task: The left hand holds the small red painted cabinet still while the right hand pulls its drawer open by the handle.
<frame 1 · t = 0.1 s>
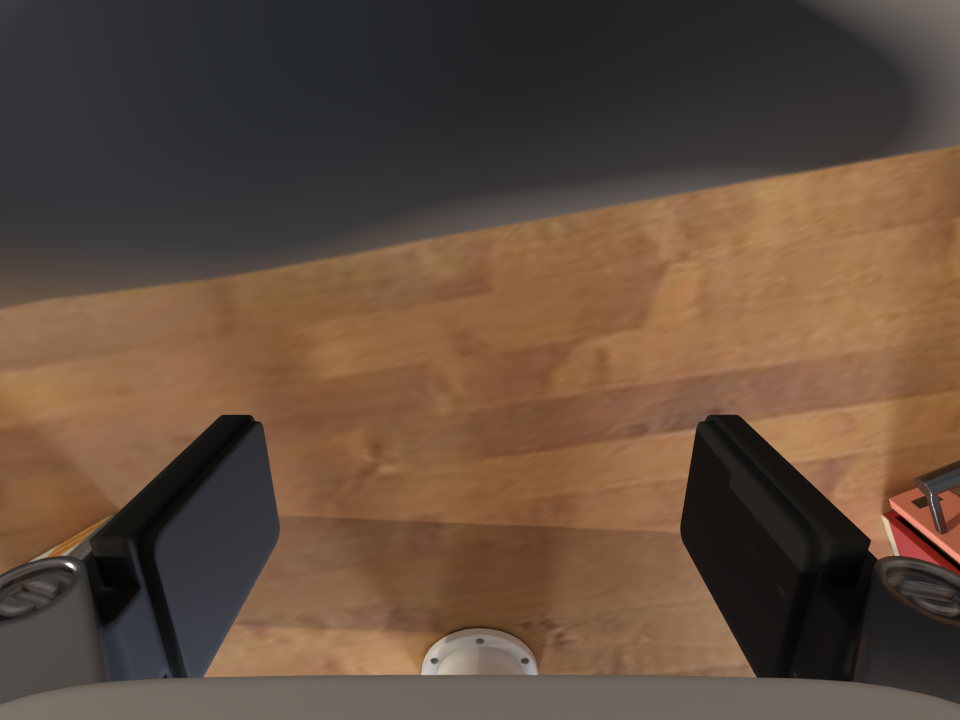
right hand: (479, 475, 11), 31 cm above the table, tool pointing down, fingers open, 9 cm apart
hard drive box: (89, 567, 51), on the table
cabinet: (933, 580, 52), on the table
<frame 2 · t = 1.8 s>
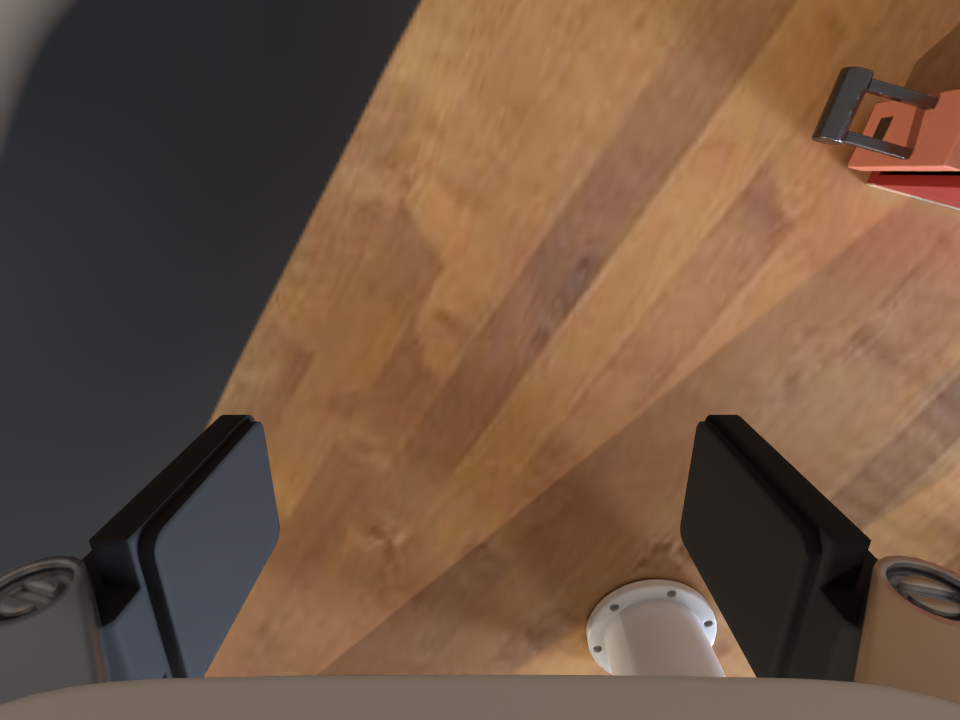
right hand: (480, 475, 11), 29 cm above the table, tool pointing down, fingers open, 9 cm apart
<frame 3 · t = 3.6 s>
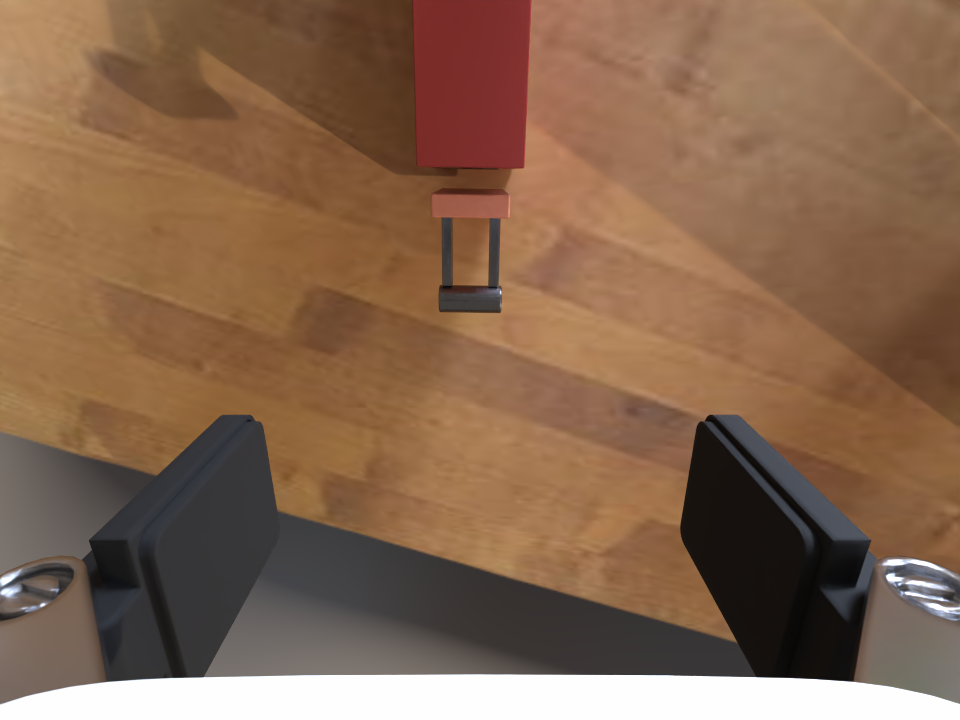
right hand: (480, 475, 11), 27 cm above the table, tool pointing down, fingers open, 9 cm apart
drawer: (472, 79, 28), point 5 cm above the table, slide at 1.3 cm
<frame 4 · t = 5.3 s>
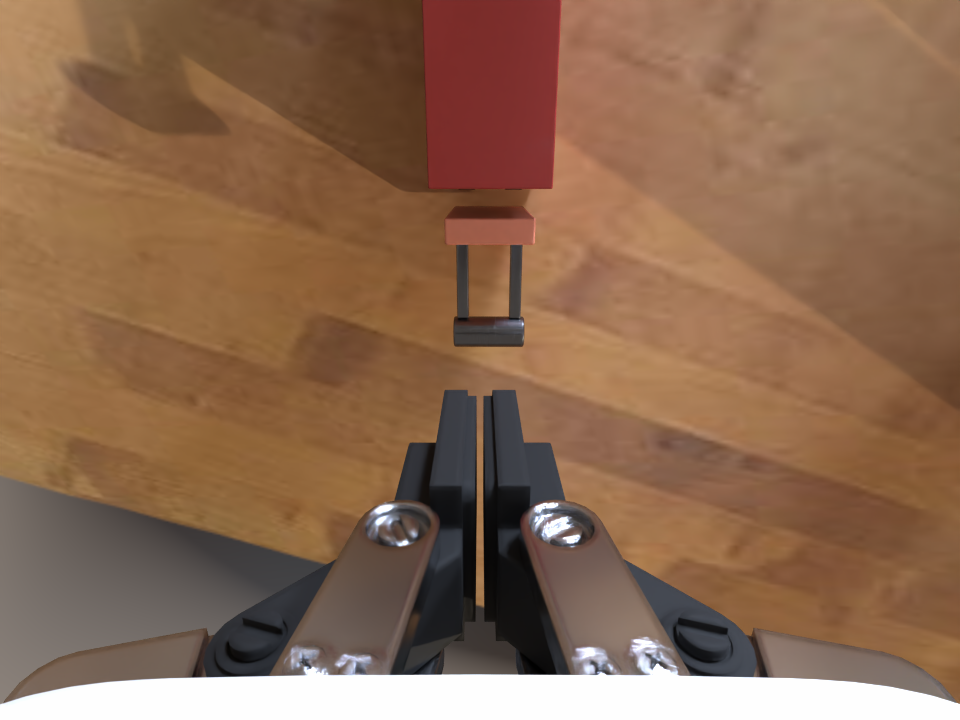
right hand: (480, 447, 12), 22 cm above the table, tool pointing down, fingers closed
drawer: (490, 85, 25), point 5 cm above the table, slide at 1.3 cm
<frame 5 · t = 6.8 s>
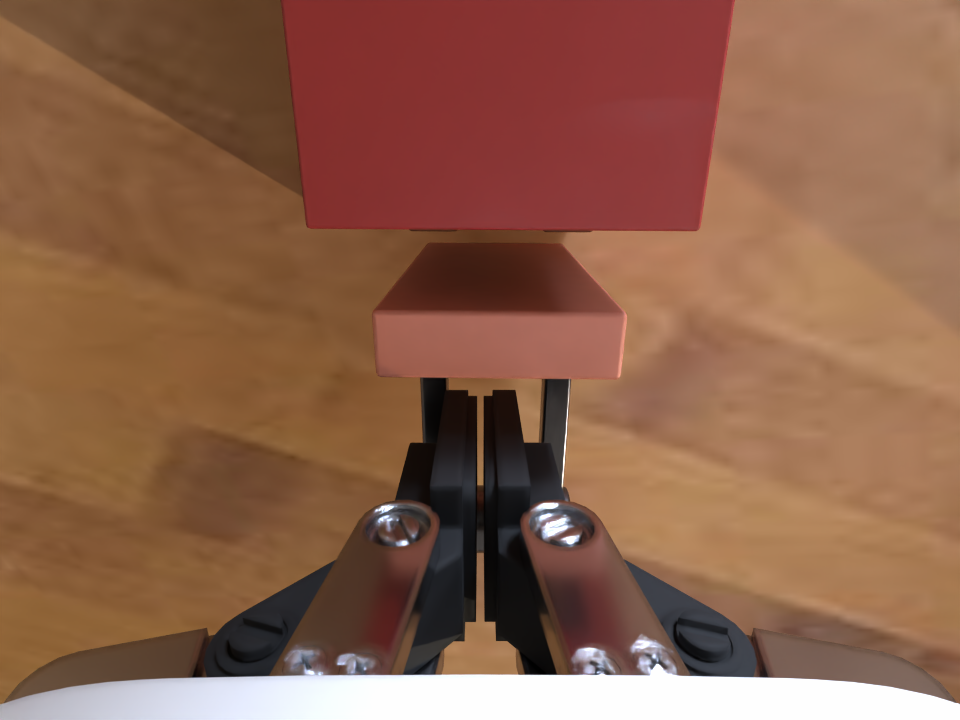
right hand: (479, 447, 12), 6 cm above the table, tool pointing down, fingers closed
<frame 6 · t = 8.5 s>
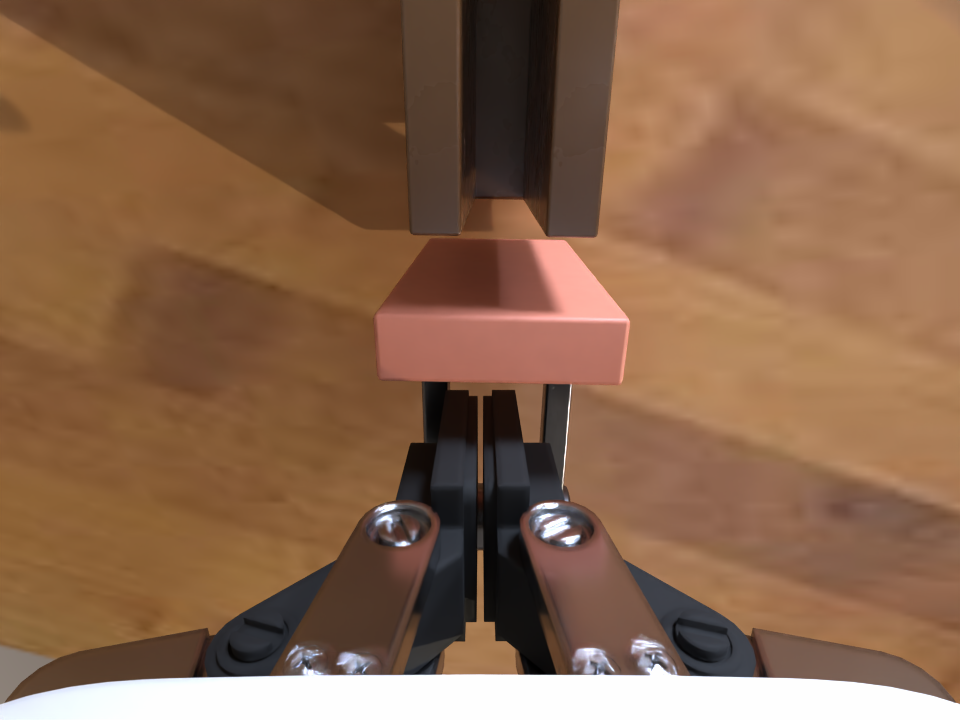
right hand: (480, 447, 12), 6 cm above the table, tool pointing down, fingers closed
when the left hand's fingers open (6 cm above the table, at t = 9.9 s): cabinet stays where it is, on the table.
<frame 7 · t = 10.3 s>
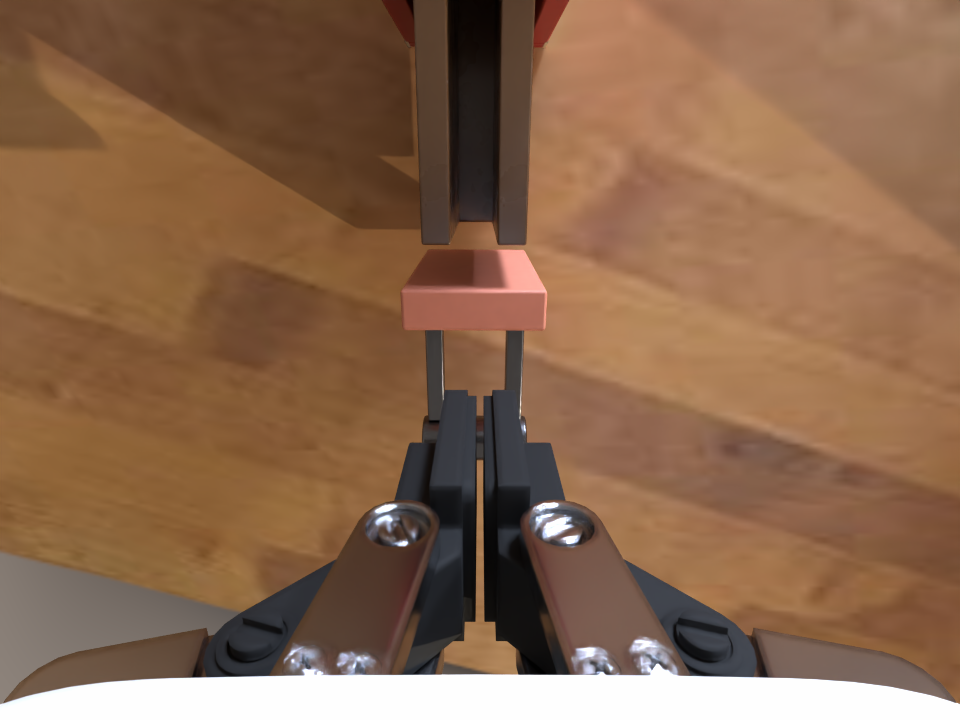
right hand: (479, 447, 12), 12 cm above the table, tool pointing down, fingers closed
drawer: (475, 77, 16), point 5 cm above the table, slide at 7.7 cm
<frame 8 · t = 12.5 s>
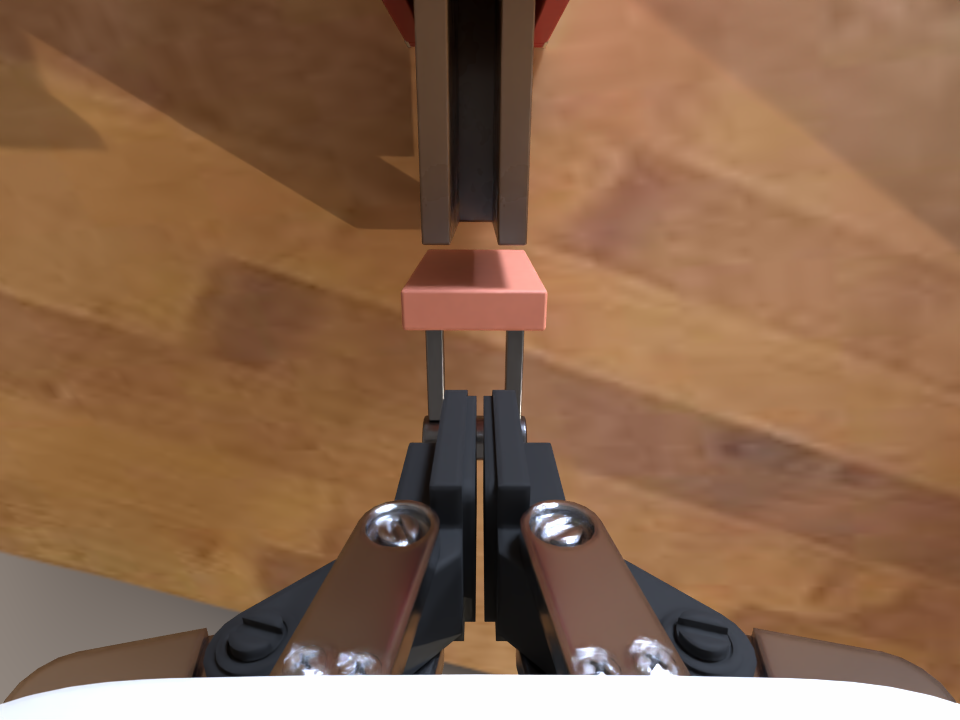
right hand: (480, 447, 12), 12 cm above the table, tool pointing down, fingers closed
drawer: (475, 77, 16), point 5 cm above the table, slide at 7.7 cm
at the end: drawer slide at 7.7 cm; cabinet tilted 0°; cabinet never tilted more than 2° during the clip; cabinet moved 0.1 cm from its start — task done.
